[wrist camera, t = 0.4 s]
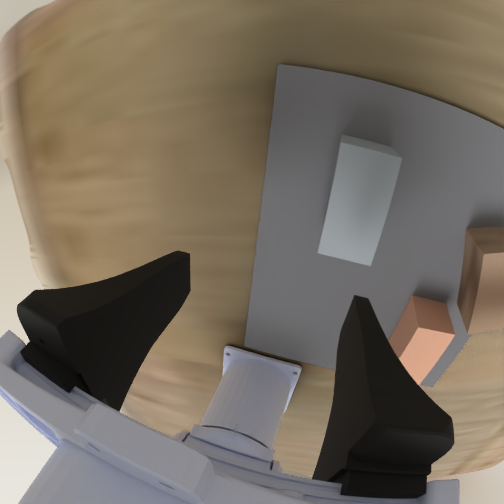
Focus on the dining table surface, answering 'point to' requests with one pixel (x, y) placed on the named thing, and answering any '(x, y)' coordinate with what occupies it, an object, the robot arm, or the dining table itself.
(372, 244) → the brick slate
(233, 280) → the dining table surface
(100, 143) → the dining table surface
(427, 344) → the brick terracotta
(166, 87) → the dining table surface
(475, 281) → the brick walnut
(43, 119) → the dining table surface
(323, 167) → the felt mat
